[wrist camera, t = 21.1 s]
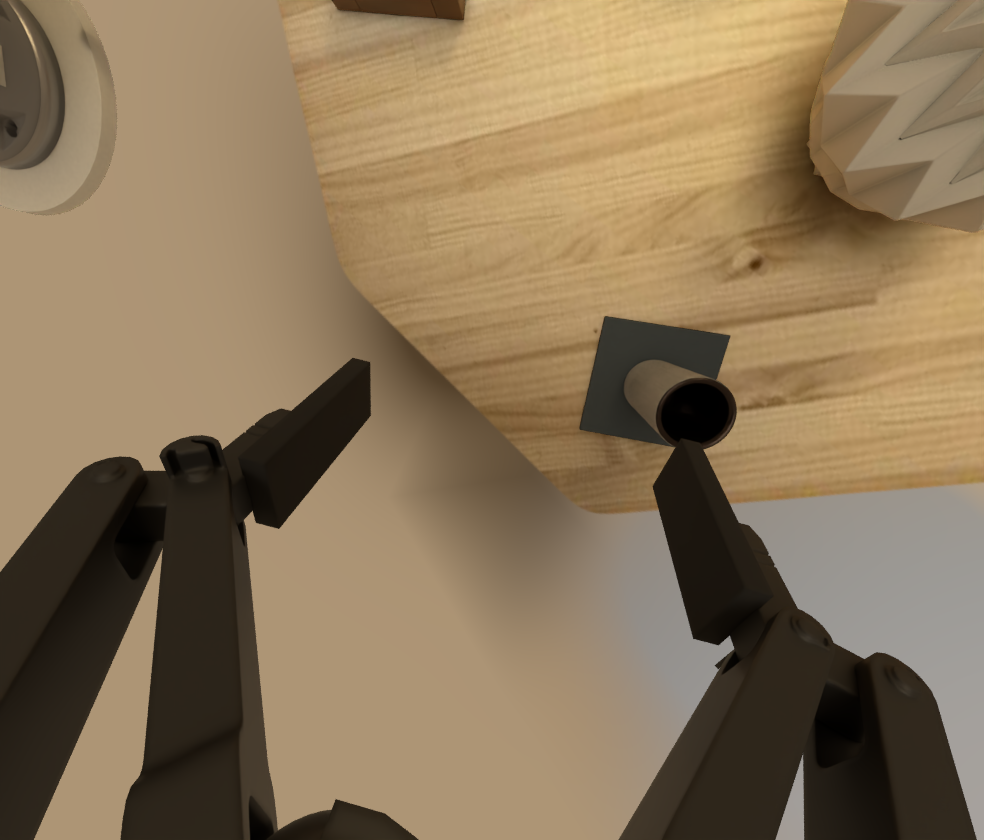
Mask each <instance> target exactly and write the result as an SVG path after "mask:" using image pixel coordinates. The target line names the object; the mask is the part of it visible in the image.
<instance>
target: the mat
mask: <svg viewBox="0 0 984 840" xmlns="http://www.w3.org/2000/svg"><path fill="white" fill-rule="evenodd" d="M729 339H730V336H729V335H723V334H717V333H710V332H704V331H697V330H691V329H684V328H678V327H671V326H665V325H658V324H652V323H646V322H639V321H633V320H626V319H620V318H613V317H607V316H605V318H604V322H603V327H602V331H601V336H600V340H599V344H598V349H597V353H596V358H595V362H594V366H593V371H592V375H591V380H590V384H589V388H588V393H587V397H586V402H585V406H584V410H583V415H582V419H581V424H580V430H585V431H590V432H595V433H601V434H606V435H612V436H617V437H622V438H628V439H633V440H639V441H644V442H649V443H655V444H660V445H666V446H671V447H674V446H672V445H670V444H669V443H667V442H666V441H665V440H664V439H663V438H662V437H661V436H660V435H659V434H658V433H657V432H656V431H655V430H654V429H653V428H652V427H651V426H650V425H649V424H648V423H647V421H646V420H645V419H644V418H643V417H642V416H641V415H640V414H639V413H638V412H637V411H636V410H635V409H634V408H633V407H632V406H631V405H630V404H629V402H628V401H627V399H626V397H625V394H624V381H625V378H626V376H627V374H628V373H629V371H630V370H631V369H632V368H633V367H634V366H636V365H637V364H639V363H641V362H643V361H647V360H661V361H665V362H667V363H670V364H673V365H676V366H679V367H681V368H684V369H687V370H690V371H692V372H695V373H698V374H701V375H703V376H706V377H709V378H712V379H714V380H716V379H717V376H718V373H719V370H720V367H721V364H722V360H723V357H724V354H725V351H726V348H727V345H728V342H729Z"/></svg>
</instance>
